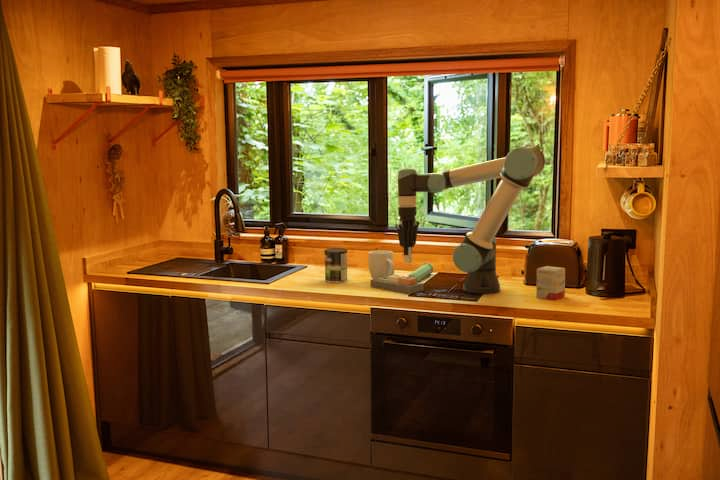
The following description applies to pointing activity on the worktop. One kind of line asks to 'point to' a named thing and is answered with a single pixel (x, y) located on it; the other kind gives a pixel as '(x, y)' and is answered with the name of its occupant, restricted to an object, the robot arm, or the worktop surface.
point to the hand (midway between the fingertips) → (408, 262)
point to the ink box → (550, 282)
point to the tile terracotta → (408, 281)
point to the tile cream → (395, 278)
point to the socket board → (397, 286)
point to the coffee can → (336, 265)
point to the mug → (381, 263)
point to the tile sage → (383, 279)
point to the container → (422, 271)
